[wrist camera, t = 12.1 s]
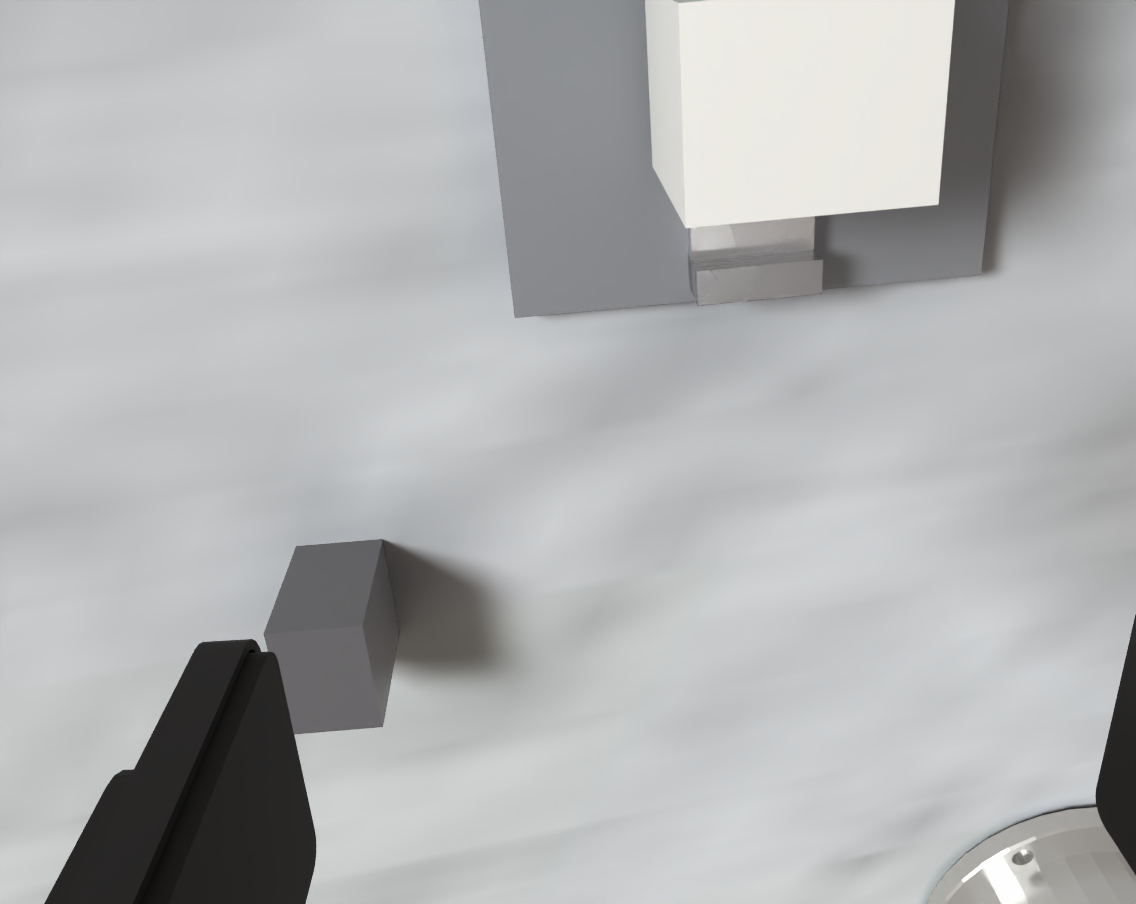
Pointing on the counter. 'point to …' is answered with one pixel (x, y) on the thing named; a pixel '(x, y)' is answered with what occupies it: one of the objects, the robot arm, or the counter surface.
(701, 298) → the metal rail
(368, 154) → the counter surface
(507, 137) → the board
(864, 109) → the block
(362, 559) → the grey rectangular block
